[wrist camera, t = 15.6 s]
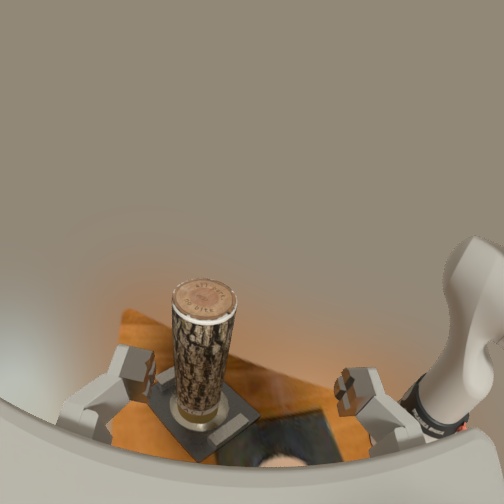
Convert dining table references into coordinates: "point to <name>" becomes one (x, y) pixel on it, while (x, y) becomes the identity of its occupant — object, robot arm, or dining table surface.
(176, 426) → the collar plate
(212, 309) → the paper tube
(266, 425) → the dining table surface
